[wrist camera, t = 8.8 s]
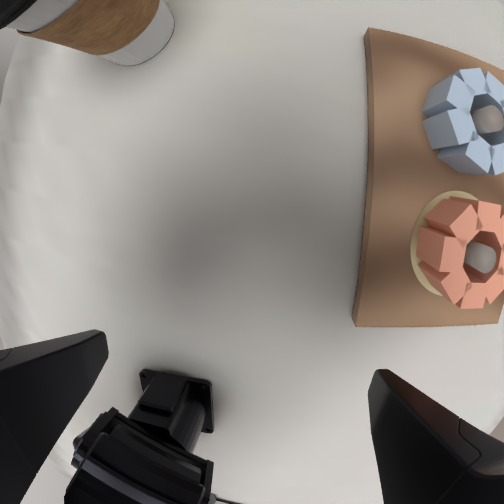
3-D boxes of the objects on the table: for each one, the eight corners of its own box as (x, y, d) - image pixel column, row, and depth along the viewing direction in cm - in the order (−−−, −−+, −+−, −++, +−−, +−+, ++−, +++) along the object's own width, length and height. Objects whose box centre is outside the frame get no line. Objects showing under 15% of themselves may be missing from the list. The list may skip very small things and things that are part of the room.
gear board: (488, 316, 18) (523, 346, 13) (351, 316, 20) (368, 359, 15) (504, 79, 14) (543, 65, 8) (363, 36, 15) (383, -3, 10)
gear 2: (479, 289, 17) (504, 307, 13) (410, 287, 17) (431, 309, 14) (492, 203, 15) (522, 209, 12) (422, 191, 16) (449, 195, 12)
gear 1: (502, 161, 14) (532, 161, 11) (441, 182, 16) (469, 184, 12) (474, 79, 13) (501, 66, 10) (409, 89, 14) (431, 73, 11)
